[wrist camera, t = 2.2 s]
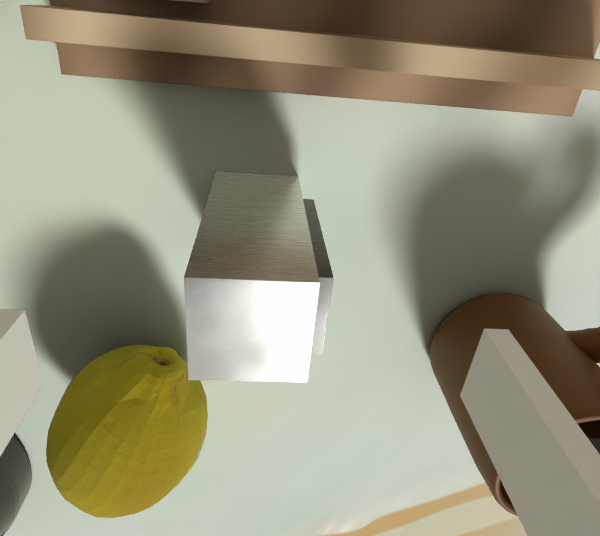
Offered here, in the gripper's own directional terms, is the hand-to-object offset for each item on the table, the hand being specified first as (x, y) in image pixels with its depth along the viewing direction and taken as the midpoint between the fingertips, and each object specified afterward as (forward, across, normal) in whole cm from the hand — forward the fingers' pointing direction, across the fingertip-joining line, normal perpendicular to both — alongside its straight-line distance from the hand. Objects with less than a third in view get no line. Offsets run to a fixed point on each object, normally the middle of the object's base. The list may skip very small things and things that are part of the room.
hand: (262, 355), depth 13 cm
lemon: (+11, -6, -11) cm, 17 cm away
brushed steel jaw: (+11, 0, 0) cm, 11 cm away
